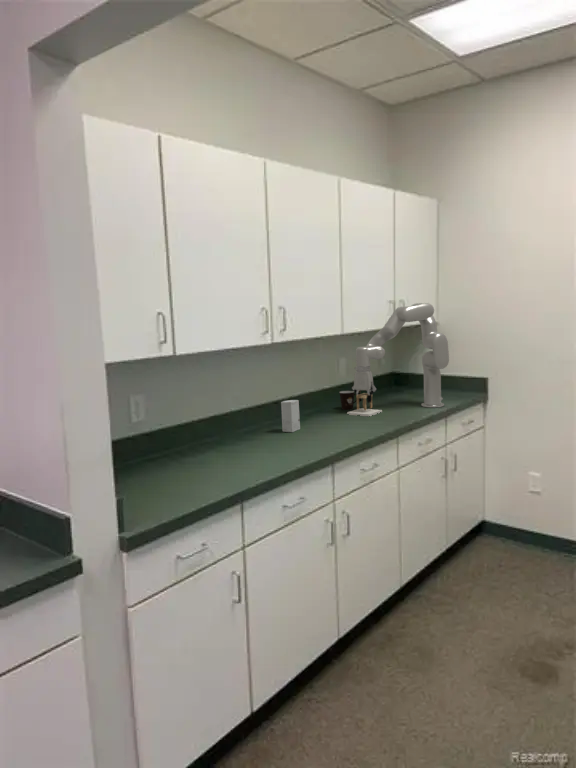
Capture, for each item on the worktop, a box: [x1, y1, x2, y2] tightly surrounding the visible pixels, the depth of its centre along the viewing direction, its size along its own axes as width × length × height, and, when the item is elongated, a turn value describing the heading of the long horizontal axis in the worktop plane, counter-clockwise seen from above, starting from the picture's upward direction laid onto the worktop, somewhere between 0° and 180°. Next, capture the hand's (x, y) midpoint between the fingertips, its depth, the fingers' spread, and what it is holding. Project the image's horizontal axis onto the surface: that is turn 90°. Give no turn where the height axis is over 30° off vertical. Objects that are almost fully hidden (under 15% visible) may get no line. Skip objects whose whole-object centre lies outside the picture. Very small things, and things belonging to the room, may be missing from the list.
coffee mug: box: [339, 390, 357, 411], centre depth 340 cm, size 12×9×10 cm
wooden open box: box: [355, 392, 373, 410], centre depth 324 cm, size 6×8×8 cm
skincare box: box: [280, 399, 301, 433], centre depth 288 cm, size 8×6×15 cm
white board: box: [346, 407, 383, 417], centre depth 325 cm, size 14×14×1 cm
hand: (364, 401), depth 324 cm, fingers closed on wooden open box, 5 cm apart
